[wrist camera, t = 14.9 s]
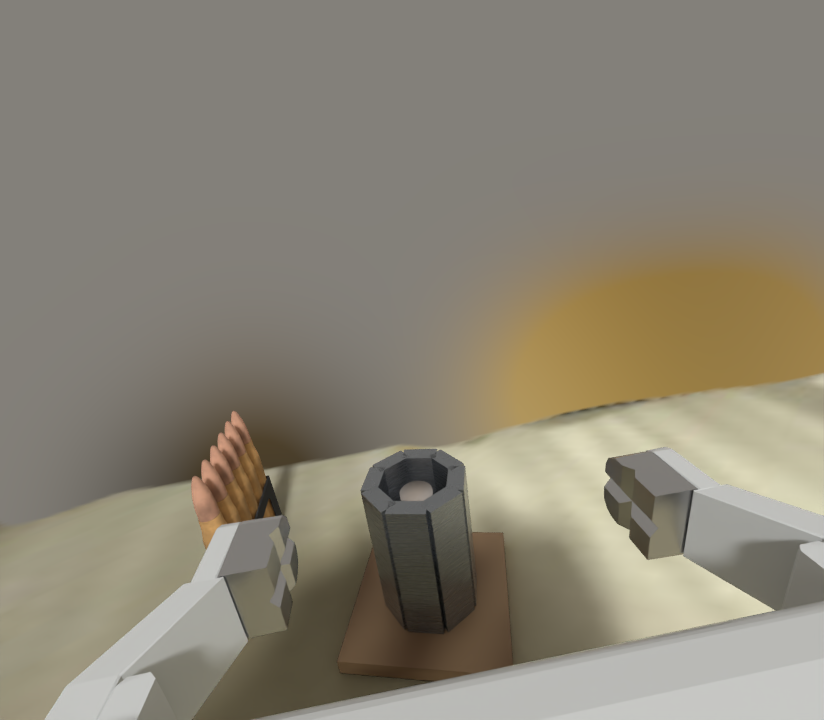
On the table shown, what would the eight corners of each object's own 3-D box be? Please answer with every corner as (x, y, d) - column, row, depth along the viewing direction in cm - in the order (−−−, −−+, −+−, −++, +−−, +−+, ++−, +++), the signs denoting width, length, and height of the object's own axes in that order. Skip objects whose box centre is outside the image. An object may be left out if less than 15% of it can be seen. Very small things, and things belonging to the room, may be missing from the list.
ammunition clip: (261, 629, 27) (205, 483, 22) (232, 636, 26) (171, 490, 22) (283, 519, 36) (247, 403, 32) (263, 523, 36) (224, 408, 32)
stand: (340, 672, 23) (306, 556, 20) (379, 540, 32) (359, 447, 29) (514, 688, 21) (506, 562, 18) (503, 542, 30) (496, 443, 27)
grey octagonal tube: (378, 630, 24) (350, 513, 21) (396, 551, 30) (377, 450, 27) (476, 636, 23) (462, 514, 20) (476, 553, 29) (465, 448, 26)
